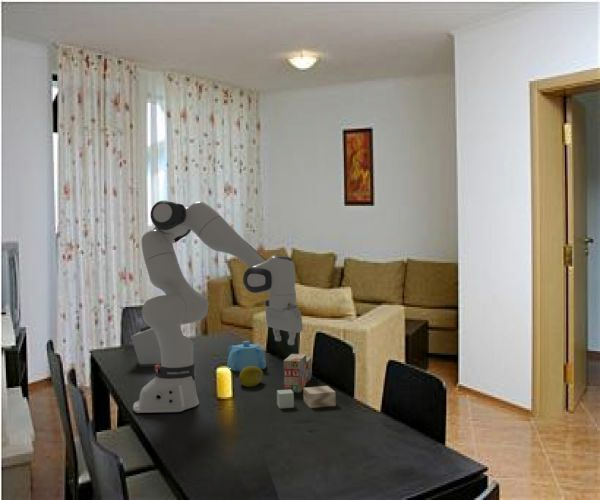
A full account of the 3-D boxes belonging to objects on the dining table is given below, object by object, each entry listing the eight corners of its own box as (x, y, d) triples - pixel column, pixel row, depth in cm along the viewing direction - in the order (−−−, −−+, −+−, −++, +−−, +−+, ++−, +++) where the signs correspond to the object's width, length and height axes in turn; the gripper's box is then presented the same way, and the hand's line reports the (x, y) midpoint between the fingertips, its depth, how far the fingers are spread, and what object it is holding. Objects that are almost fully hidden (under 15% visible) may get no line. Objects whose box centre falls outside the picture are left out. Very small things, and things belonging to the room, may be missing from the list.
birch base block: (310, 408, 208) (310, 394, 208) (303, 401, 216) (303, 387, 216) (335, 406, 210) (335, 391, 210) (328, 399, 219) (327, 385, 219)
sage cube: (279, 408, 208) (279, 394, 208) (277, 404, 213) (276, 390, 213) (293, 407, 209) (293, 393, 209) (291, 403, 214) (290, 389, 214)
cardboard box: (297, 379, 250) (296, 349, 249) (312, 380, 248) (311, 349, 248) (283, 392, 229) (283, 359, 229) (300, 393, 228) (299, 360, 227)
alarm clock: (167, 372, 267) (166, 326, 266) (131, 373, 267) (130, 326, 267) (178, 362, 287) (177, 319, 287) (144, 363, 288) (143, 320, 287)
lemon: (244, 390, 232) (243, 369, 232) (234, 386, 239) (234, 366, 239) (268, 386, 238) (268, 366, 238) (258, 382, 245) (258, 362, 245)
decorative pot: (265, 368, 272) (264, 337, 272) (266, 376, 256) (266, 343, 256) (228, 369, 271) (227, 338, 270) (227, 377, 255) (226, 345, 254)
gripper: (306, 304, 202) (307, 346, 203) (278, 299, 220) (279, 338, 221) (289, 305, 199) (290, 348, 200) (262, 301, 217) (263, 340, 217)
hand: (284, 342), depth 210 cm, fingers open, 8 cm apart
